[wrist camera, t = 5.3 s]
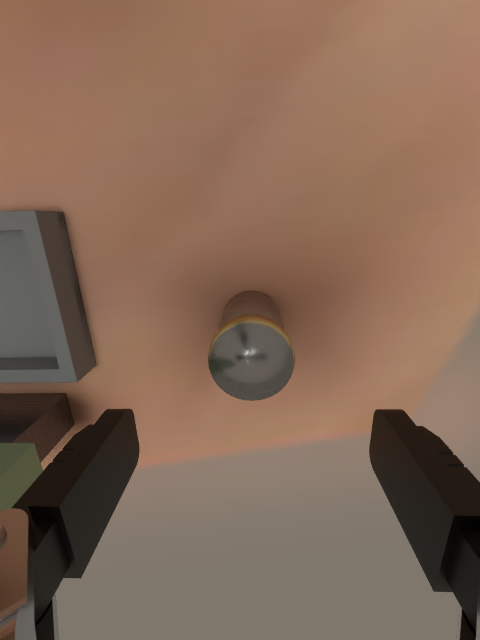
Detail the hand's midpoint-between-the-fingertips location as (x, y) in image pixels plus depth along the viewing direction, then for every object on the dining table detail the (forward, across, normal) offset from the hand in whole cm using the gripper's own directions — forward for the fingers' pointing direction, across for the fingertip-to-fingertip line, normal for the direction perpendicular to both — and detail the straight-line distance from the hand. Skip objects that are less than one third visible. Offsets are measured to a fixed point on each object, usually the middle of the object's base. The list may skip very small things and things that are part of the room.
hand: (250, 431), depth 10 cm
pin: (+11, 0, 0) cm, 11 cm away
